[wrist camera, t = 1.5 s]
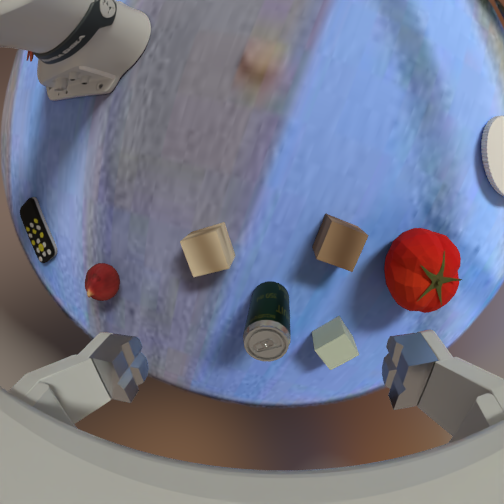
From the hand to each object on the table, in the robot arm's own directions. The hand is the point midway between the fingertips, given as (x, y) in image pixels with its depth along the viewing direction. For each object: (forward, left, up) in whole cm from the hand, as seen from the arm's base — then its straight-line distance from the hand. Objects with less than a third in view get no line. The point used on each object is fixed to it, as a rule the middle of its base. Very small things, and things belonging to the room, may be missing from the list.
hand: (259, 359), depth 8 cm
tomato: (+20, -7, -30) cm, 37 cm away
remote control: (-45, -2, -31) cm, 55 cm away
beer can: (-1, -13, -30) cm, 33 cm away
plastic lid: (+40, +11, -31) cm, 52 cm away
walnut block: (+8, -4, -30) cm, 31 cm away
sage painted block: (+9, -20, -30) cm, 37 cm away
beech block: (-9, -5, -30) cm, 32 cm away
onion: (-27, -10, -30) cm, 42 cm away
